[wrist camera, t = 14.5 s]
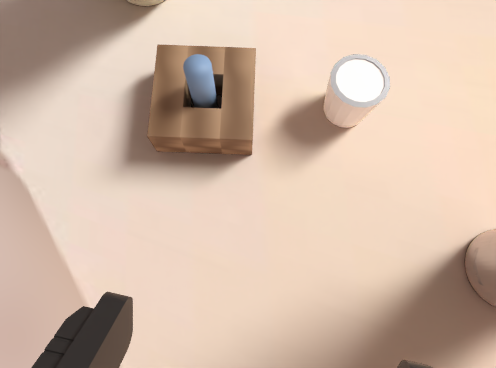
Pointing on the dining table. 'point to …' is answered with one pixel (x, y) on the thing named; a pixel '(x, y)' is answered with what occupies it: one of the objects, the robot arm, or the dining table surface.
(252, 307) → the dining table surface
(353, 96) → the white cup
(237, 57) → the hole block
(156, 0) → the lamp
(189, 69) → the peg
